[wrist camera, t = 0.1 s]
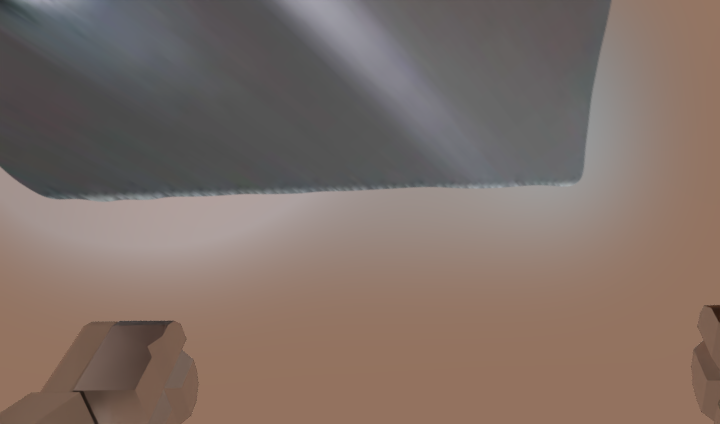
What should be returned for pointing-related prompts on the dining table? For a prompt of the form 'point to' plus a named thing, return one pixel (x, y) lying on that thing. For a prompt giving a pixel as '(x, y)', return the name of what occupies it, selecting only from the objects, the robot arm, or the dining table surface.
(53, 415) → the robot arm
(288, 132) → the dining table surface
